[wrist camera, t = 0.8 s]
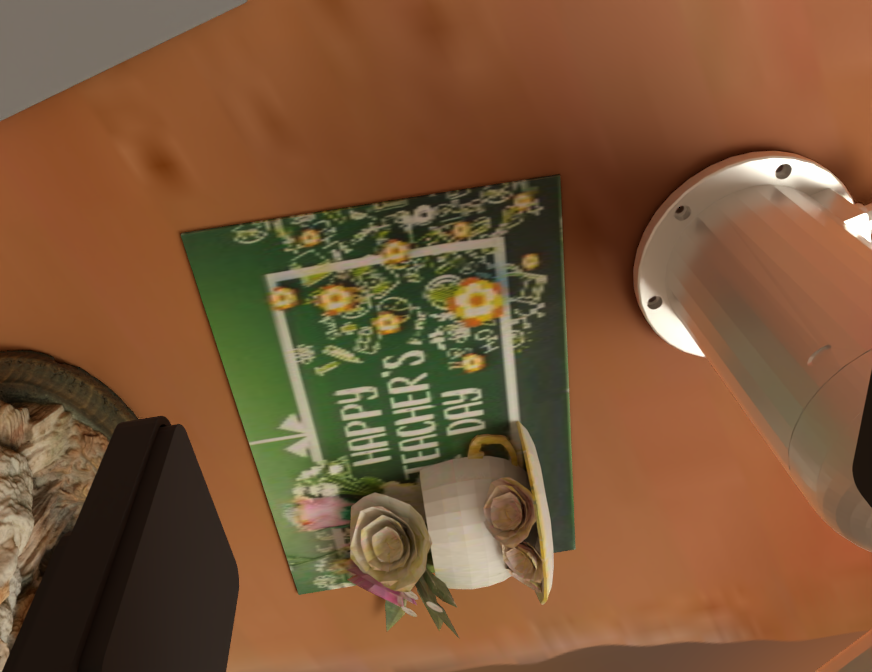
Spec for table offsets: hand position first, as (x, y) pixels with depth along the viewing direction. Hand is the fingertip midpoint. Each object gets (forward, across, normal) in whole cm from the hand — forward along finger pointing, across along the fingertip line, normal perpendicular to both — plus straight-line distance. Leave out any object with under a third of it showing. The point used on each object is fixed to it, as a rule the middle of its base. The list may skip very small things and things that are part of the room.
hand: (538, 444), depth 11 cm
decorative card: (+32, +3, +25) cm, 40 cm away
